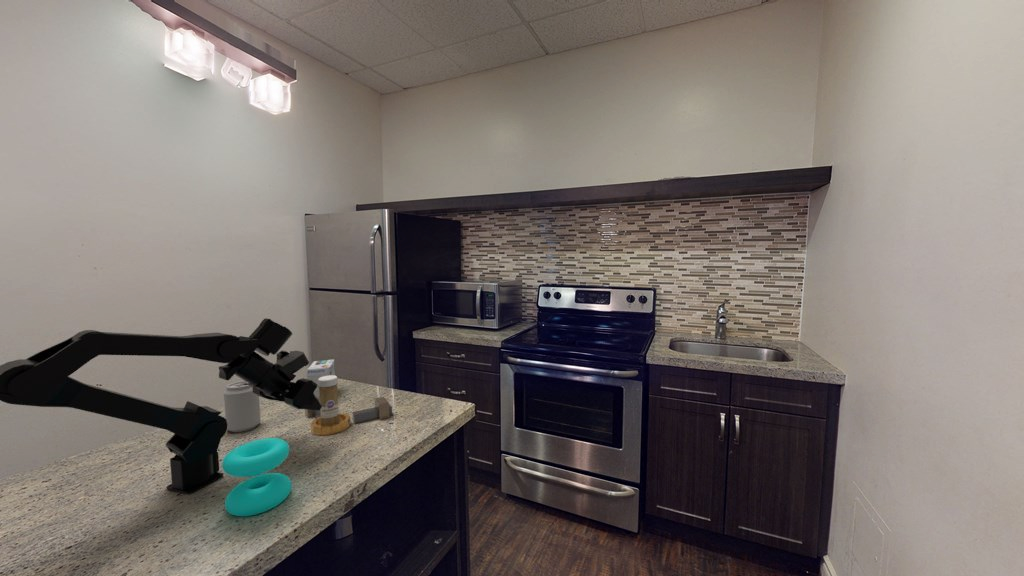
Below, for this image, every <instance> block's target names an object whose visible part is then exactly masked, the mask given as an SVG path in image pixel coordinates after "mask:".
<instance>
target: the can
mask: <svg viewBox="0 0 1024 576" xmlns="http://www.w3.org/2000/svg"><path fill="white" fill-rule="evenodd" d="M225 387H226V389H225V390H224V391H223V401H224V402H223V403H224V418H225V419H226V420H227V424H228V425H227V431H230V432H231V433H241V432H247V431H250V430H252V429H254V428H256V427H257V426H258V425H259V424H260V423H261V408H260V407H261V405H260V404H261V403H260V396H258V395H256V394H254V393H253V388H252V386H250V385H248V382H246V381H244V380H239V381H235V382H232V383H229V384H227V385H226V386H225Z"/></svg>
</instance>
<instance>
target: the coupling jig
mask: <svg viewBox="0 0 1024 576" xmlns="http://www.w3.org/2000/svg"><path fill="white" fill-rule="evenodd" d="M319 397H320V396H319ZM319 397H316V398H317V400H318V401H319ZM304 415H305V416H306V417H307V418H310V417H313V418H315V419H313V420H312V421H311V423H310V431H311V433H312V434H313V435H317V436H327V435H328V436H329V435H334V434H338V433H341V432H343V431H345V430H347V429H349V428H350V426H351V424H352V423H351V416H350V415H349V414H348V413H343V412H342V413H341V412H339V423H337V424H333V425H327V426H321V417H320V410H308V409H304ZM390 416H393V406H392V405H391V404H390V403H389V401H388V400H387V398H386V397H385V396H381V397H377V398H374V407H371V408H365V409H362V410H355V411H352V422H353V423H354V424H355V425H356V424H361V423H363V422H369V421H372V420H377V419H378V420H380V421H382V420H385V419H389V418H390Z"/></svg>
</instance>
